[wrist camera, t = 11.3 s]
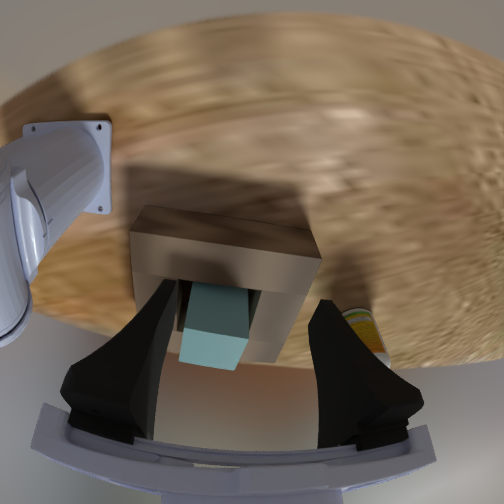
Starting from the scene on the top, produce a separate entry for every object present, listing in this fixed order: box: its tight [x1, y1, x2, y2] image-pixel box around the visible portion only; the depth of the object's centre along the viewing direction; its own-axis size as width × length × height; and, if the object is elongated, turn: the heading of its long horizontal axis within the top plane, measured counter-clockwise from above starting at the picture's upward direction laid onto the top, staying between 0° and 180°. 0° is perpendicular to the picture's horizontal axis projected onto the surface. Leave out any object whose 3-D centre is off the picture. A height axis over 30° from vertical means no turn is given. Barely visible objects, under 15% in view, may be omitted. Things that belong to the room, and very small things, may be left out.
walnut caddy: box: [129, 206, 322, 363], centre depth 25 cm, size 14×14×4 cm
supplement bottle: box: [342, 308, 391, 368], centre depth 27 cm, size 5×5×10 cm
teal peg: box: [179, 281, 249, 370], centre depth 23 cm, size 5×5×8 cm
